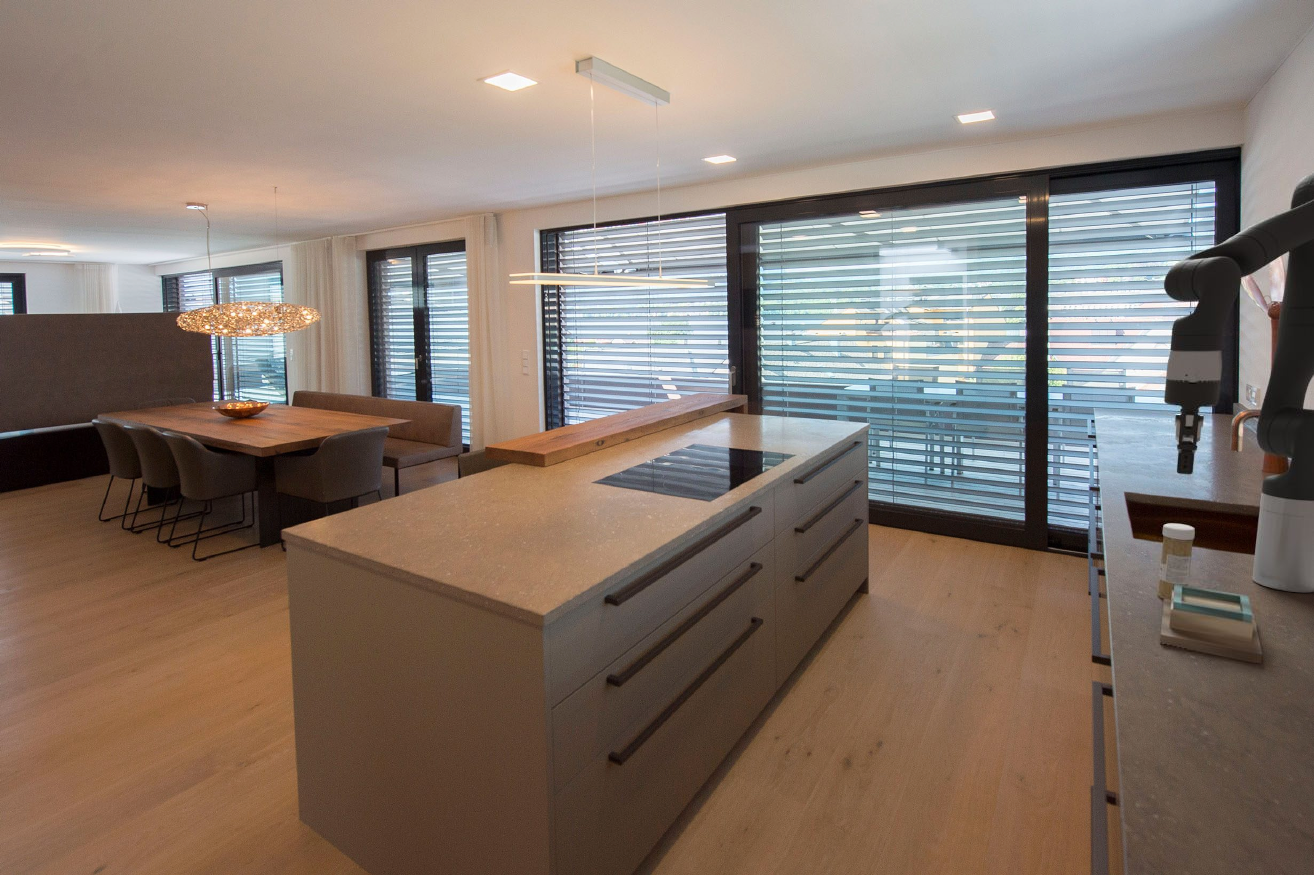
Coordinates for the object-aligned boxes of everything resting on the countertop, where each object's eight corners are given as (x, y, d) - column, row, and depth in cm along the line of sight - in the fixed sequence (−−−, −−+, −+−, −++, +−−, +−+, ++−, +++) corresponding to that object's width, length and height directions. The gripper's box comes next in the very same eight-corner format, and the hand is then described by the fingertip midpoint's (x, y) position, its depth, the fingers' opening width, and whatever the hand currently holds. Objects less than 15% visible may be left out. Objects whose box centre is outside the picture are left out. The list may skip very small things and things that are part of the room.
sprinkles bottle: (1159, 591, 131) (1165, 521, 129) (1189, 597, 128) (1196, 525, 126) (1155, 598, 127) (1161, 526, 125) (1186, 605, 124) (1193, 531, 122)
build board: (1163, 606, 124) (1166, 575, 123) (1252, 622, 116) (1256, 589, 116) (1159, 643, 109) (1163, 608, 109) (1261, 664, 102) (1265, 626, 101)
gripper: (1167, 374, 130) (1159, 461, 132) (1165, 379, 118) (1157, 474, 121) (1219, 375, 125) (1210, 465, 127) (1222, 380, 114) (1212, 479, 116)
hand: (1184, 469), depth 124 cm, fingers open, 8 cm apart
